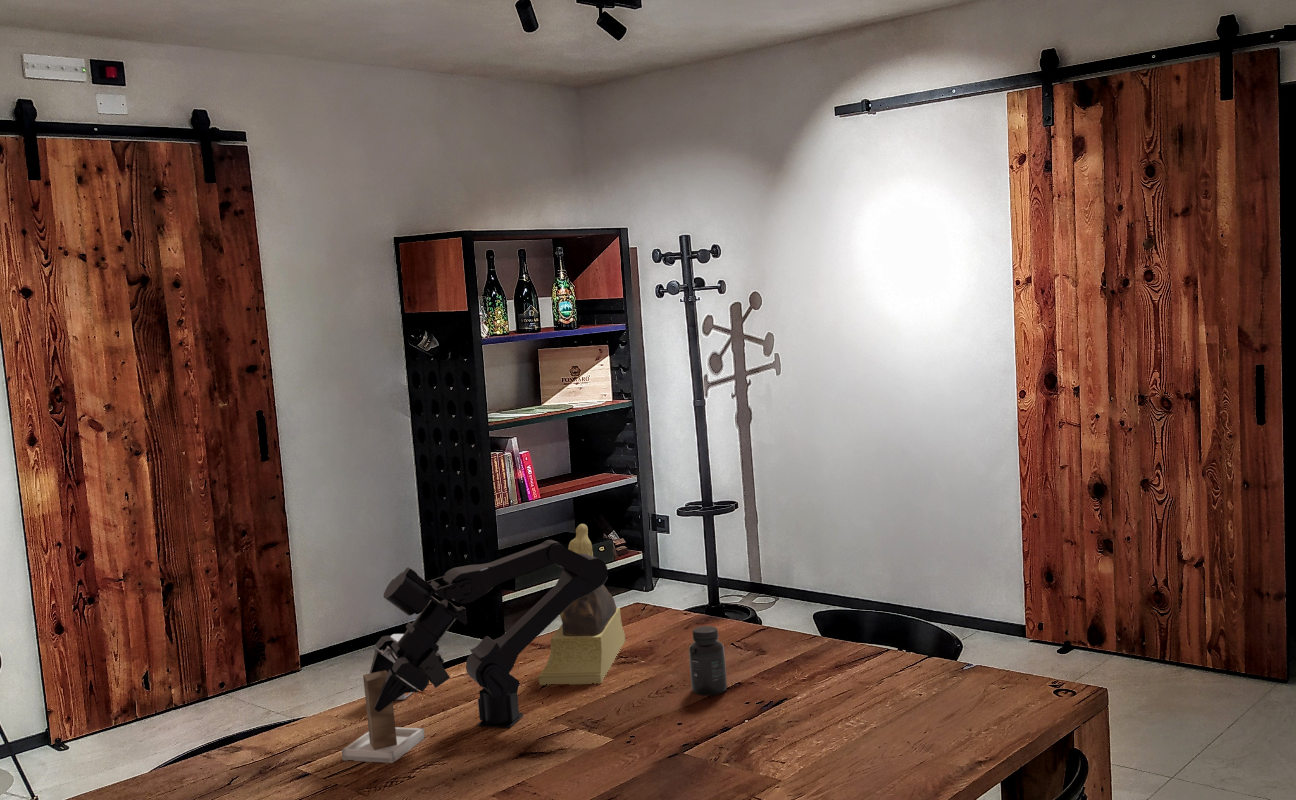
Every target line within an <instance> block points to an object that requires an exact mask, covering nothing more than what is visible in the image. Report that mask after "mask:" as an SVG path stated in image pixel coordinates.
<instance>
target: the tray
mask: <svg viewBox="0 0 1296 800" xmlns="http://www.w3.org/2000/svg"><path fill="white" fill-rule="evenodd" d="M395 729H396V739H397V745H394V746H390V747H386V748H381V749H377V750H374V749H373V747H372V745H371V744H370V738H369V730H368V731H367V732H365V733H364V734H362V735H361V736H360V737H358V738H357V739H355V740H354V741H352V742H351V743H349V744H348V745H347V746H345V747H344V748H343V749H341V758H342V761H348V760H354V761H353V762H366V763H367V762H369V763H371V762H372V763H386V764H387V763H389V764H393V763H394V762H396V761H398V760H399V759H400V758H402V756H403V755H405V754H407V753H408V752H409V751H410V750H411V749H413V748H414V747H415V746H417V745H418V744H419V743H421V742H422V741H423V740H424V739H425V729H424V728H422V727H421V728H420V727H399V726H397V727H396V726H395Z"/></svg>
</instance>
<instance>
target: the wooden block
mask: <svg viewBox="0 0 1296 800" xmlns="http://www.w3.org/2000/svg"><path fill="white" fill-rule="evenodd" d="M369 673H370V672H369ZM369 673H364V674H362V677H363V687H364V688H363V689H364V696H365V707H366V716H367V717H366V718H367V725H368V726H367V727H368V731H369V738H370V744H371V745H372V747H373V749H374V750H377V749H381V748H386V747H390V746H394V745H397V739H396V729H395V727H396V721H395V711H394V701H393V702H392V703H391V704H389V705H388V706H387V707H385V708H384V709H383V710H381V711H380V712H378V711H376V710H375V709H374V707H375V704H376V702H377V699H378V696H379V694H380V691H381V689H382V686H383V684H384V681H385V679H386V676H387V674H388V673H387V671H386V670H384V671H379V672H375V673H370V674H369Z"/></svg>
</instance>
